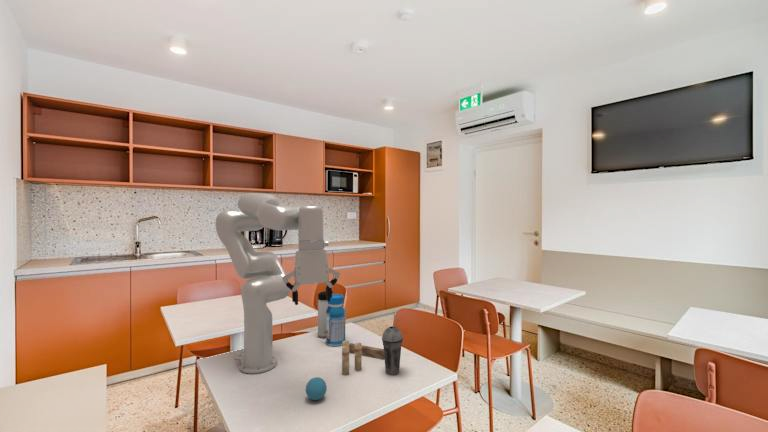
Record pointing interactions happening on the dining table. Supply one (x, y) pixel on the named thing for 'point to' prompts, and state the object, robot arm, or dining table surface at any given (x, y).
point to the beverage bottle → (335, 321)
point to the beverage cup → (392, 349)
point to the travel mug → (322, 314)
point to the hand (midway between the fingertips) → (312, 302)
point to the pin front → (345, 360)
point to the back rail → (368, 351)
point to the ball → (316, 388)
